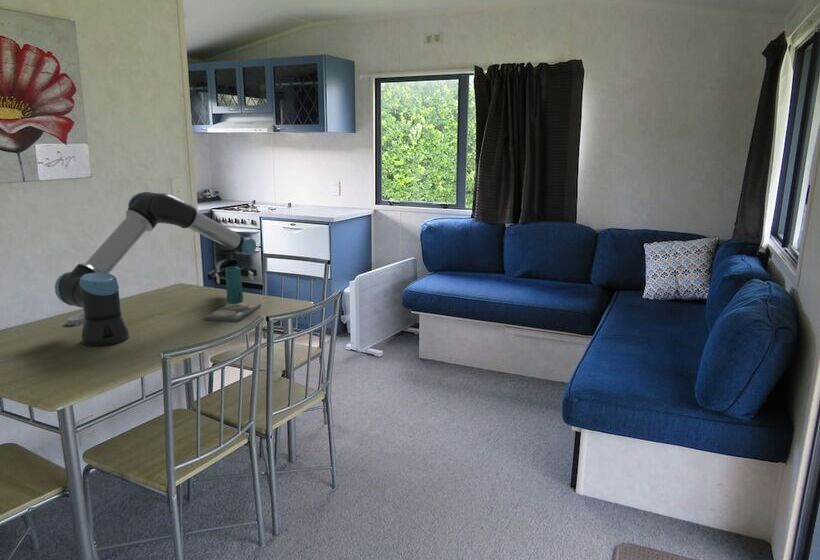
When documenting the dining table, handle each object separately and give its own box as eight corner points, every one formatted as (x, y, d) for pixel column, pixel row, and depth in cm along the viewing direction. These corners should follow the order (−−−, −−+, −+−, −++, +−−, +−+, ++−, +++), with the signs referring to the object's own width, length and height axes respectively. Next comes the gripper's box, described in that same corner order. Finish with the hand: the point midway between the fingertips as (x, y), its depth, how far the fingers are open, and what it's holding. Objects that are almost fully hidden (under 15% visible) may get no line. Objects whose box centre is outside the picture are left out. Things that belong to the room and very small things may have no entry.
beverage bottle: (241, 307, 247) (237, 260, 242) (225, 307, 247) (221, 260, 243) (245, 303, 253) (242, 257, 249) (230, 303, 254) (226, 257, 249)
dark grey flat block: (238, 321, 234) (237, 317, 233) (204, 319, 236) (204, 316, 235) (261, 306, 255) (260, 302, 254) (230, 305, 257) (230, 301, 257)
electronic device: (60, 302, 227) (91, 291, 241) (64, 326, 230) (95, 314, 244) (70, 303, 226) (101, 292, 239) (74, 327, 228) (105, 315, 242)
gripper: (256, 274, 269) (266, 284, 251) (198, 279, 259) (204, 290, 240) (255, 258, 268) (265, 266, 249) (197, 262, 257) (203, 272, 239)
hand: (235, 278), depth 245 cm, fingers open, 13 cm apart
